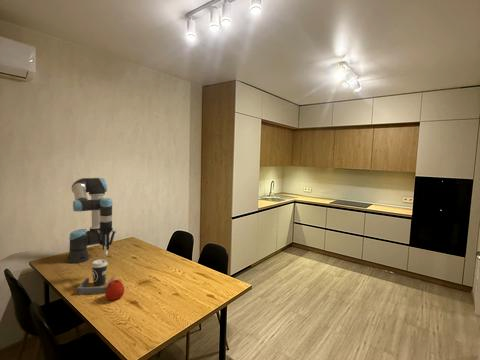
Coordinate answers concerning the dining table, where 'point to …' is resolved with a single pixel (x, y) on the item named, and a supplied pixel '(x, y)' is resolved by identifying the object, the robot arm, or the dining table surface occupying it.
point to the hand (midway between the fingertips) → (105, 254)
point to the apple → (114, 290)
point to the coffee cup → (99, 272)
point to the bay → (91, 288)
